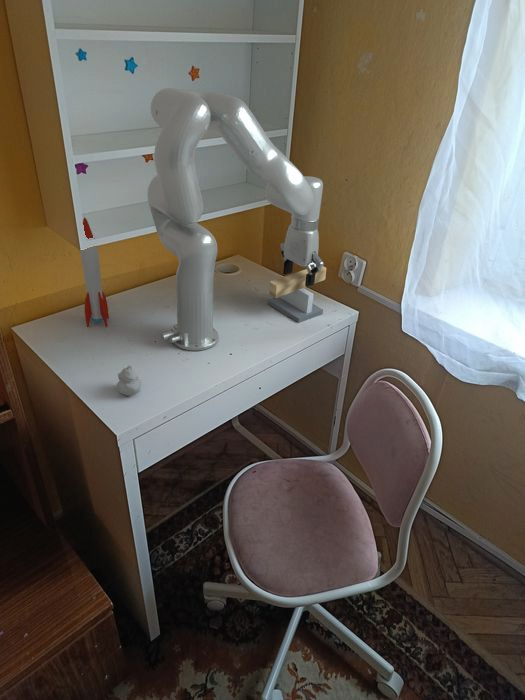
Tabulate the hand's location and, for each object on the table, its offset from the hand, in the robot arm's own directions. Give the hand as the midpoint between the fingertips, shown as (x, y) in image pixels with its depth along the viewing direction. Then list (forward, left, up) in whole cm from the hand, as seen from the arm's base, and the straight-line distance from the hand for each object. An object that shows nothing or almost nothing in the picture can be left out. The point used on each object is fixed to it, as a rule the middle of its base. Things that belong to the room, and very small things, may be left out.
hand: (298, 279), depth 149 cm
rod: (0, 0, -2) cm, 3 cm away
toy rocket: (-53, +24, -10) cm, 59 cm away
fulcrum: (0, 0, -10) cm, 10 cm away
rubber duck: (-60, -9, -10) cm, 61 cm away
